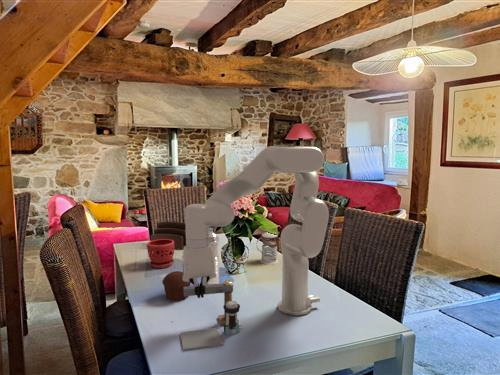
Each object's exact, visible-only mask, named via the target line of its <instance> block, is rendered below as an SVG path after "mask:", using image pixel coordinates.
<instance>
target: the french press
mask: <svg viewBox="0 0 500 375" xmlns="http://www.w3.org/2000/svg"><path fill="white" fill-rule="evenodd" d="M272 216H273V215H272V213H268V216H267V217H272ZM268 232H269V231H266V232H263V233H262V234H261V237H260V238H258V239H257V241H256V243H258V242H259V241H260V240H263V238H267V239H268V240H265V241H262V246H261V250H260V249H259V248H258V246H256V248H257V250H258V252H260V253H261V258H260V260H259V262H260V263H261V264H265V265H276V264H278V263H279V262H280V261H279V260H278V245H277V242H276V241H272V240H271V239H274V238H277V237H278V234H277V235H274V234H270V233H268Z"/></svg>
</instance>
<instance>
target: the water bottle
mask: <svg viewBox="0 0 500 375" xmlns="http://www.w3.org/2000/svg"><path fill="white" fill-rule="evenodd" d="M209 236H210V237H214V241H213V242H211V243H210V244H211V245H212V249H213V254H214V262H215V274H216V277H215V278H212V279H210V280H209V281H208V282H207V283H206V285H210V284H220V256H219V254H220V251H219V248H220V247H219V241H220V239H219V237H218V235H217V234H216V233H215V232H214V229H213V228H212V227H209Z"/></svg>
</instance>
